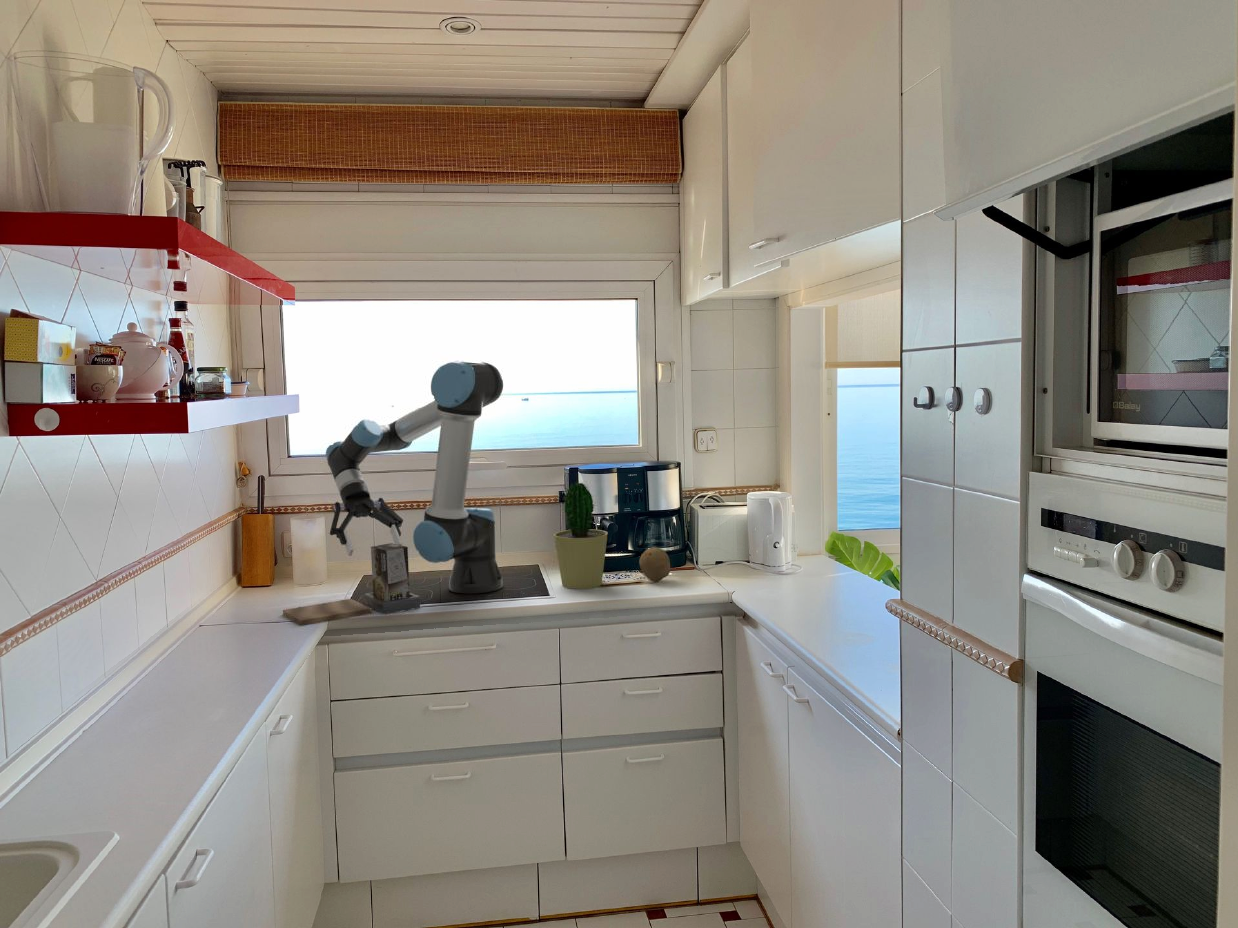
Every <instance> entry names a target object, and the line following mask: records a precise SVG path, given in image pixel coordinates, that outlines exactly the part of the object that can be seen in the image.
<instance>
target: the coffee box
mask: <svg viewBox="0 0 1238 928" xmlns="http://www.w3.org/2000/svg"><path fill="white" fill-rule="evenodd" d="M408 548H409V547H408V546H406V545H403V544H402V545H397V544H395V543H394V542H392V543H391V542H389V543H384V544H378V545H373V546H370V557H371V559H370V560H371V572H372V573H371V574H372V577H371V578H372V589H373V590H372V592H373V594H374V596H375V597H377V598H379V599H381V600H384V601H390V600H396V599H402V598H408V597H410V593H411V592H410V575H409V573H410V571H409V549H408Z"/></svg>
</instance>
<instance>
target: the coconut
mask: <svg viewBox="0 0 1238 928" xmlns="http://www.w3.org/2000/svg"><path fill="white" fill-rule="evenodd" d="M638 560H639V562H638V563H639V568H640V570H641V571H642V574H643V575H644V576H645V577H646V579H648V580H649V581H650V582H653V583H657V582H660V581H661V580H663V579H664V578H666V577H668V576H669V575H670V573H671V564H670V563H671V562H670V557H669V555H668V553H667V552H666V551H664V549H661V548H660V547H657V546H654V547H653V546H652V547H649V548H647V549H646V550H645V551H643V553H641V556H640V557H639V559H638Z"/></svg>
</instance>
